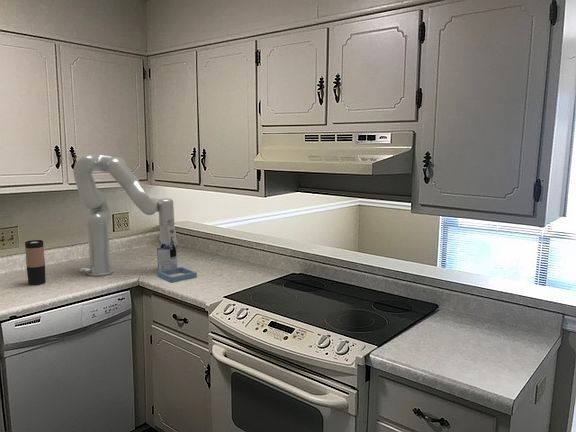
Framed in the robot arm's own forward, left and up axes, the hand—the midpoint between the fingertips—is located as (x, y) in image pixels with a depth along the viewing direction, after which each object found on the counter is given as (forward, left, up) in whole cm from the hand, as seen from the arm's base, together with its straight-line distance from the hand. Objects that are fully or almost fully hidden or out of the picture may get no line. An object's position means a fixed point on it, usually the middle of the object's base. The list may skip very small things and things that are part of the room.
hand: (168, 255), depth 243 cm
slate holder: (-3, -13, -8) cm, 15 cm away
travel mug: (-58, +20, -9) cm, 62 cm away
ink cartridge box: (-1, 0, -9) cm, 9 cm away
